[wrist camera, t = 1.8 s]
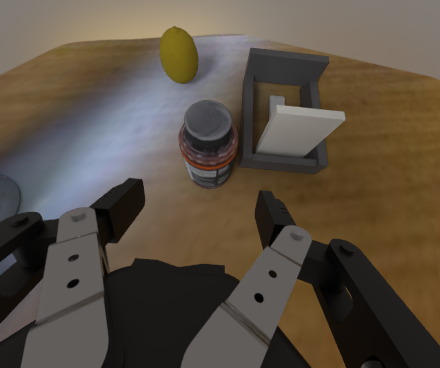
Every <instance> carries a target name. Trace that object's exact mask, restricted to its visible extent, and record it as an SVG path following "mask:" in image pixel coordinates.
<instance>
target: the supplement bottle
mask: <svg viewBox="0 0 440 368" xmlns="http://www.w3.org/2000/svg"><path fill="white" fill-rule="evenodd" d="M179 146H180V149H181V152H182V155H183V158H184V161H185V164H186V169H187V170H188V173H189V175H190V177H191V179H192V180H193V182H194V183H195V184H197V185H198V186H200V187H202V188H206V189H214V188H217V187H219V186H221V185H222V184H224V183H225V182H226V180H227V179H228V177H229V175H230V172H231V168H232V165H233V162H234V158H235V155H236V151H237V147H238V134H237V130H236V128H235V126H234V125H233V124H232V117H231V114H230V112H229V110H228V109H227V108H226V107H225V106H224V105H222V104H220V103H218V102H215V101H210V100H204V101H200V102H197V103H195V104H193V105H192V106H191V107H189V109H188V110H187V112H186V114H185V117H184V124H183V126H182V127H181V129H180V132H179Z"/></svg>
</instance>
